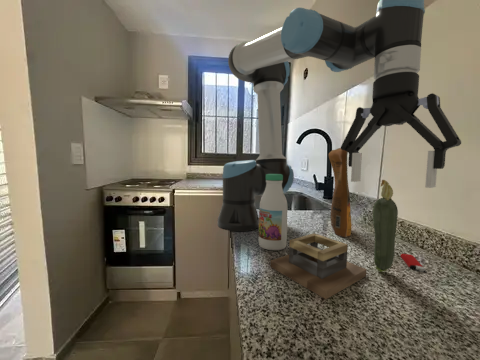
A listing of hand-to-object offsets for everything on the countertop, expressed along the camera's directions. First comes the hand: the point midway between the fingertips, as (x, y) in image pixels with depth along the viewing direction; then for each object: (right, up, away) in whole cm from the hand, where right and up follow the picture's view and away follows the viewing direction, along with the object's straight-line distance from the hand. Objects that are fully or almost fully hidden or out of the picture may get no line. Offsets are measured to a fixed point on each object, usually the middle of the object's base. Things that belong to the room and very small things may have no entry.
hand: (388, 184), depth 46 cm
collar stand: (-14, -19, +2) cm, 24 cm away
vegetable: (0, -19, +2) cm, 19 cm away
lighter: (+10, -20, +7) cm, 23 cm away
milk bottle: (-22, -18, +17) cm, 32 cm away
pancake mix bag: (+3, -17, +31) cm, 36 cm away
